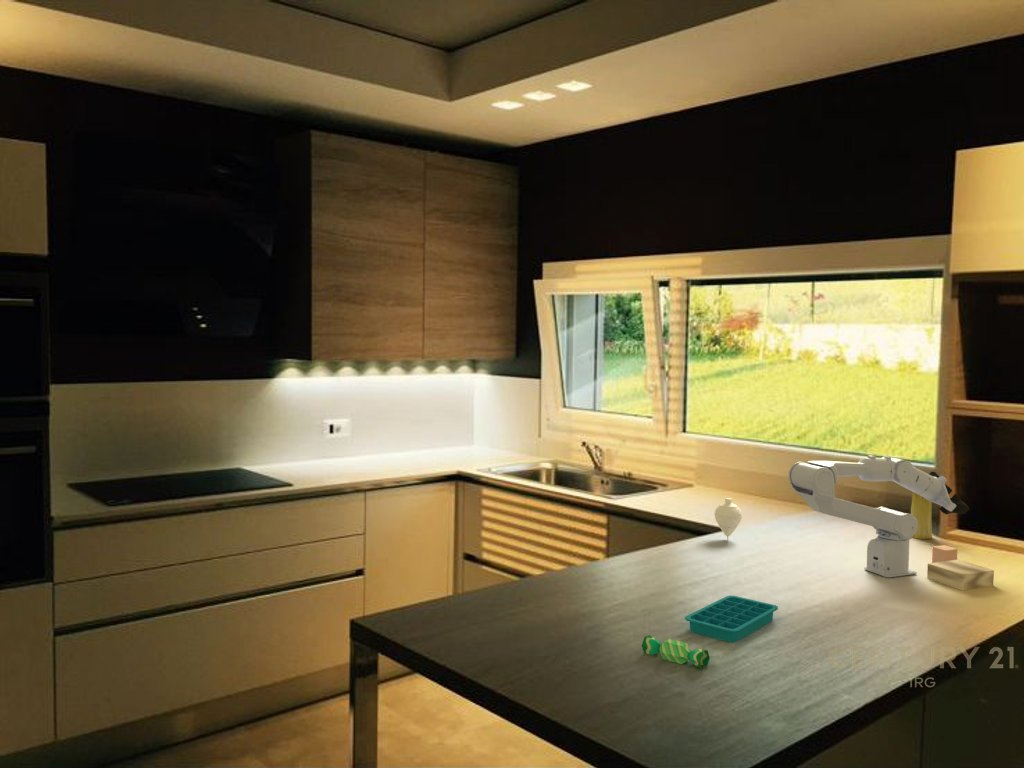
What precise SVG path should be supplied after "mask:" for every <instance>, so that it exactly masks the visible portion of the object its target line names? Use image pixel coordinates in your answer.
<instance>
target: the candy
mask: <svg viewBox="0 0 1024 768" xmlns="http://www.w3.org/2000/svg"><path fill="white" fill-rule="evenodd" d="M641 649H642V651H643V653H644V654H647V655H650V656H651V655H655V654H658V653H660V656H661V659H662V660H665V661H669V662H673V663H676V664H678V665H679V664H680V665H683V664H685V663H686V662H688V661H690V662H691V663H692V664H693V665H694V666H695V667H698V668H699V669H701V670H703V668H702V667H703V666H705V667H706V666H707V667H708V666H709V662H710V660H711V658H710V654H709V650H708V649H703V648H695V649H693V650H691V649H690V646H689V644H688V643H687V642H683V641H680V640H676V639H672V638H668V639H666V640H664V641H663V642H662V643H661V641H659V640H658V638H656V637H653V636H652V635H650V634H649V635H646V636H644V637H643V640H642V643H641Z"/></svg>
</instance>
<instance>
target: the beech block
mask: <svg viewBox="0 0 1024 768" xmlns="http://www.w3.org/2000/svg"><path fill="white" fill-rule="evenodd" d="M926 572H927V573H926V575H927V577H926V578H927V579H929V580H932V581H935V582H937V583H940V584H942V585H943V584H944V585H945V586H948V587H952V588H955V589H958V590H961V591H964V590H972V589H980V588H985V587H991V586H994V579H995V577H994V575H995V570H994V569H991V568H988V567H984V566H980V565H978V564H974V563H970V562H967V561H965V560H961V559H957V560H951V561H944V562H936V563H932V562H930V563H927V571H926Z"/></svg>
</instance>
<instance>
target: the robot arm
mask: <svg viewBox="0 0 1024 768" xmlns="http://www.w3.org/2000/svg"><path fill="white" fill-rule="evenodd" d="M806 462H807V463H806ZM806 462H804V461H797V462H795V463H793V464H792V465H791V467H790V468H789V470H788V480H789V481H788V482H789V484H790V488H791V489H792V491H793V492H795V493H797V495H799V496H800V497H801V498H802V500H803V501H804V502H805V503H806V504H807V506H809V508H810V509H811V510H813V511H814V512H818V513H820V514H823V515H827V516H832V517H836V518H839V519H843V520H847V521H852V522H854V523H859V524H863V525H867V526H870V527H872V528H873V529H875V535H877V536H876V537H875V538H873V539H870V541H868V543H867V549H866V566H864V570H866V571H868V572H871V573H874V574H876V575H879V576H882V577H885V578H895V577H902V576H903V577H904V576H910V575H917V574H918V573H917V572H918V571H915V570H912V569H909V563H910V562H909V560H910V540H912V539H913V537H912V536H914V534H915V533H916V531H917V526H918V524H917V520H916V518H915V516H913V515H912V514H911V513H908V512H902V511H899V510H895V509H891V508H889V507H886V506H879V507H872V506H867V505H864V504H860V503H857V502H853V501H848V500H846V499H841V498H838V497H836V489H835V488H836V487H835V485H837V484H838V481H839V480H838V478H840V477H841V478H842V477H858V478H859V479H860V480H861V481H863V482H889V481H891V482H894V483H896V484H898V485H899V486H900V487H903V488H904V489H907V490H909V491H910V492H914V493H916V494H918V495H920V496H922V497H924V498H925V499H927V500H929V501H931V502H932V504H936V505H938V506H940V507H939V510H940V511H941V513H942V514H944V515H950V514H961V515H966V513H967V512H969V510H970V507H969V506H968V505H967V504H966V503H965V502H963V501H962V499H961V498H960V496H959V495H958V494H957V493H954V495H953V494H952V497H950V496H949V495H950V494H951V493H952V492H953V490H952V488H951V487H950V486H949V485H948V484H946V483H947V482H948V481H947V478H945V476H943V475H939V474H938V473H937V472H935V471H930V473H927V472H925V471H923V470H922V469H919V468H917V467H915V466H913V464H912V462H911V461H909V460H906V459H901V458H895V457H892V456H888V455H887V456H886V455H885V456H883V457H877V456H876V455H870V454H868V455H867V457H862V458H860V459H859V460H858V462H852V461H851V462H849V461H836V460H835V461H834V460H808V461H806Z"/></svg>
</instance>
